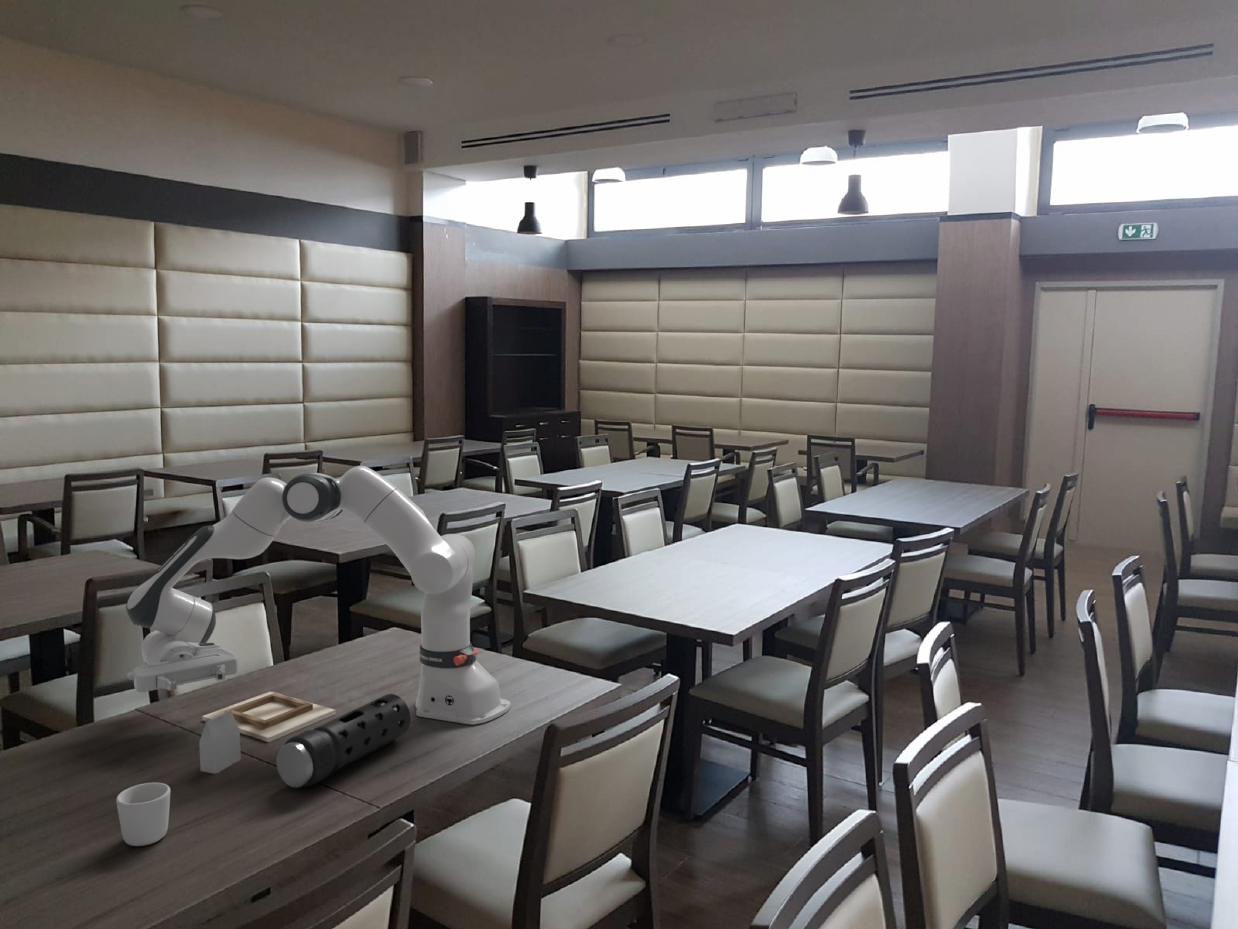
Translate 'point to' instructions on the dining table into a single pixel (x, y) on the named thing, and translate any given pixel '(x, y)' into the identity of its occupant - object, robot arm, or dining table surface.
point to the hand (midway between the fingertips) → (197, 681)
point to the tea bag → (219, 744)
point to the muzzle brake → (341, 741)
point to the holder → (273, 715)
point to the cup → (144, 813)
